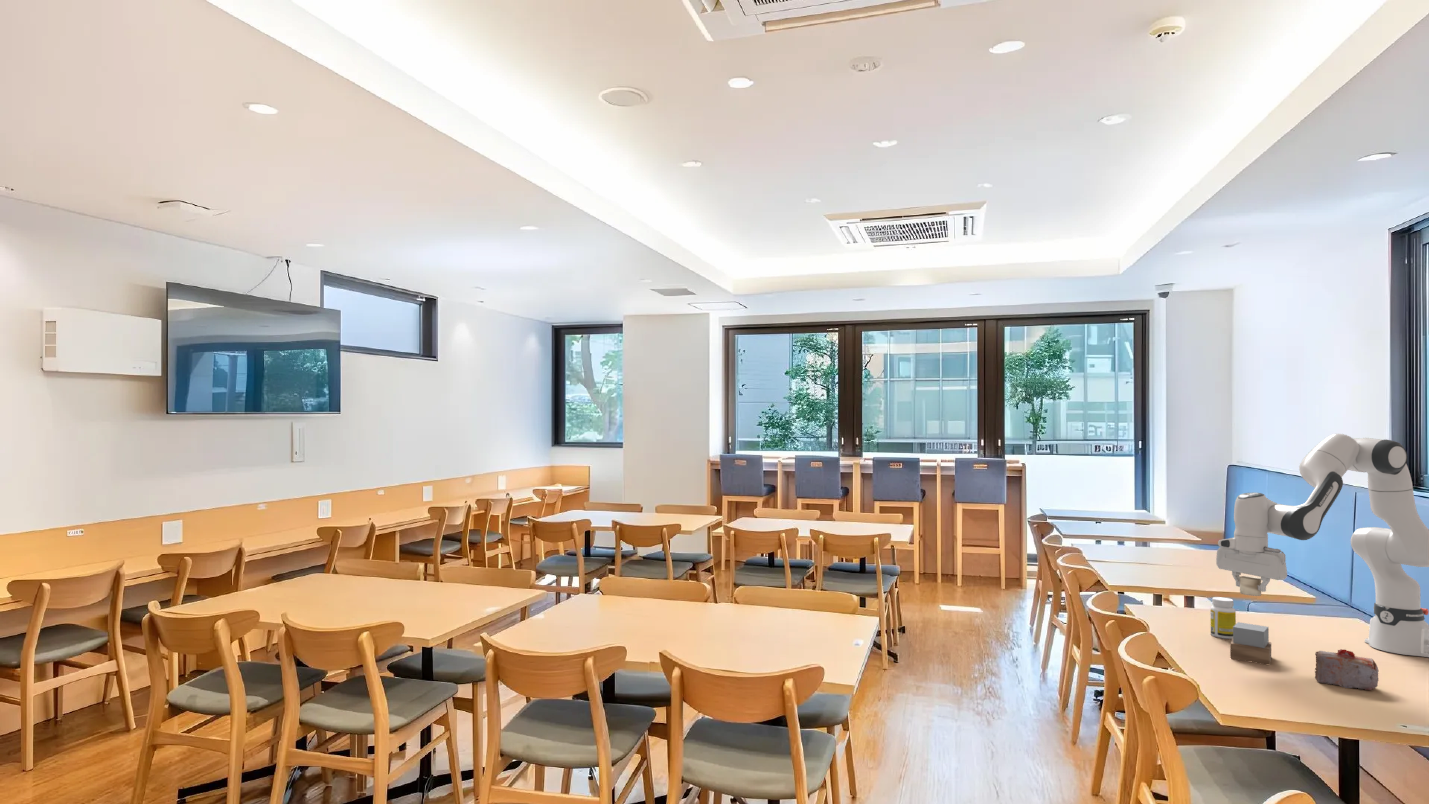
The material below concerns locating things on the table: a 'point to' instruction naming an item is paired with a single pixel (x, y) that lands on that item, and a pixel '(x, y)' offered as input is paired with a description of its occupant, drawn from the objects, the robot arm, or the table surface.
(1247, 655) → the walnut base block
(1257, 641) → the slate grey top block
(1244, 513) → the robot arm
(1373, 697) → the table surface
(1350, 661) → the food item
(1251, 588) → the beige block
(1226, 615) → the supplement bottle
